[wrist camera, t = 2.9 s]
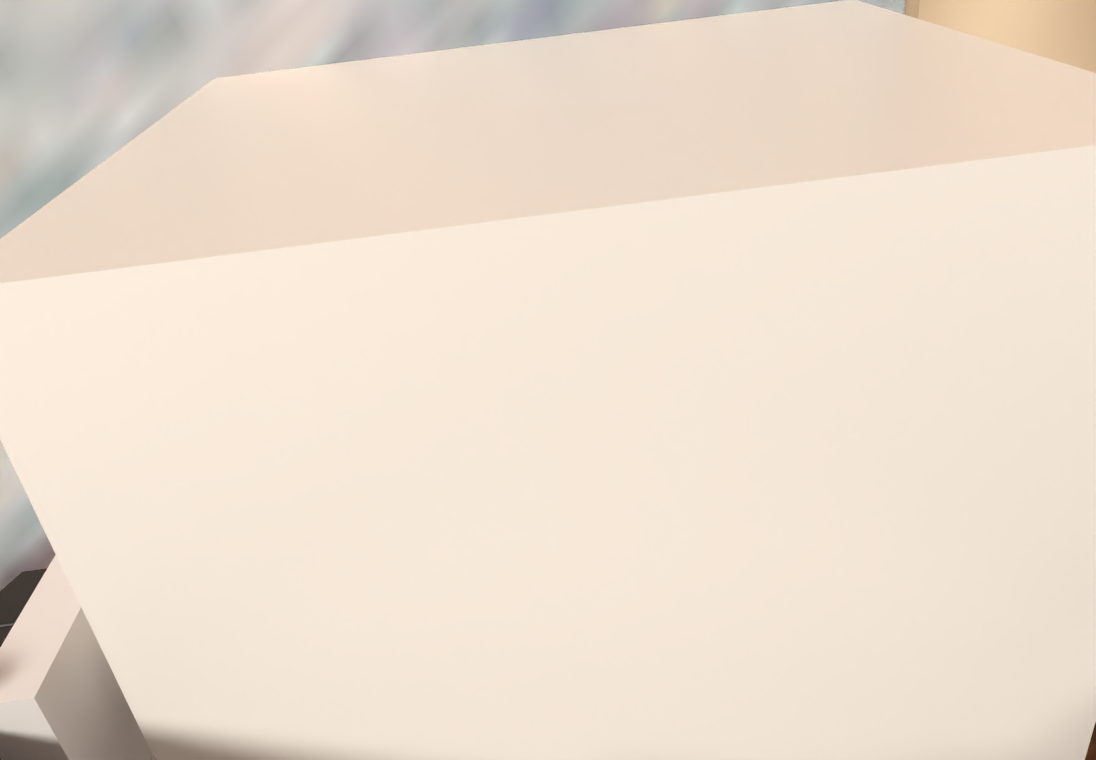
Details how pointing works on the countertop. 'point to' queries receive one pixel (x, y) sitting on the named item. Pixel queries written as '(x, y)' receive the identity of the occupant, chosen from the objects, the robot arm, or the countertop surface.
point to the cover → (584, 400)
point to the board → (1021, 25)
